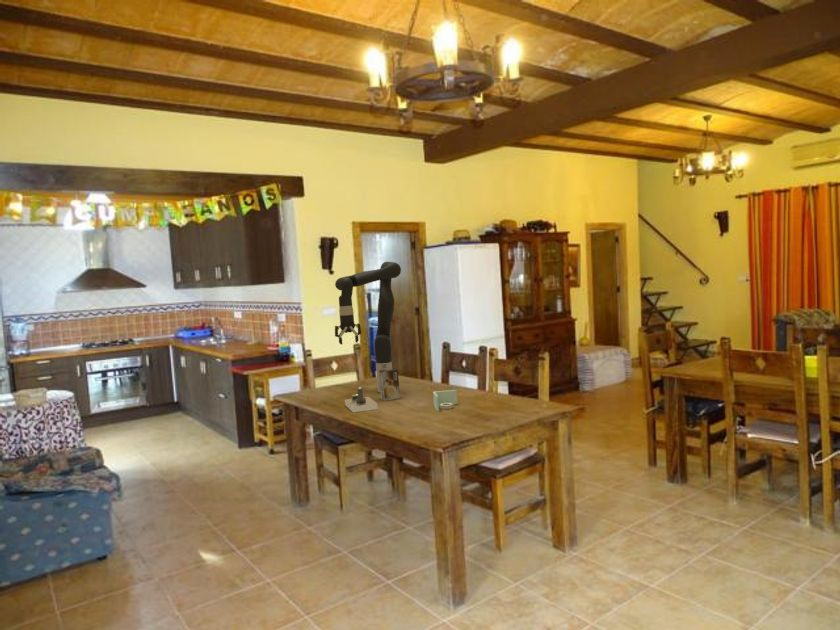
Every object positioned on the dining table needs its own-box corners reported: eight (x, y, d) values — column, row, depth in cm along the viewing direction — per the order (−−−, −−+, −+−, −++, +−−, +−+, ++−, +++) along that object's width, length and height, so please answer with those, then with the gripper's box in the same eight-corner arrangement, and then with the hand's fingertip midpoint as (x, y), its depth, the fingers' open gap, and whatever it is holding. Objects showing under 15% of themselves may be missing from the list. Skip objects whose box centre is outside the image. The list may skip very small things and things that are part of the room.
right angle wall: (437, 411, 296) (436, 396, 295) (433, 406, 308) (433, 391, 307) (461, 409, 297) (460, 394, 296) (457, 404, 309) (456, 389, 308)
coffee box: (396, 396, 334) (394, 368, 333) (400, 398, 328) (398, 369, 327) (380, 398, 331) (378, 370, 329) (384, 401, 325) (382, 371, 323)
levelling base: (368, 402, 324) (368, 392, 324) (377, 409, 307) (376, 398, 307) (345, 405, 320) (344, 395, 320) (352, 412, 303) (352, 401, 303)
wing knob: (356, 400, 316) (355, 385, 316) (365, 399, 317) (364, 384, 316) (356, 403, 308) (355, 388, 308) (365, 403, 309) (364, 387, 308)
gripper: (357, 312, 334) (359, 341, 335) (332, 314, 329) (334, 344, 330) (360, 313, 326) (363, 342, 328) (335, 315, 322) (337, 345, 323)
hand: (348, 343), depth 329 cm, fingers open, 8 cm apart
